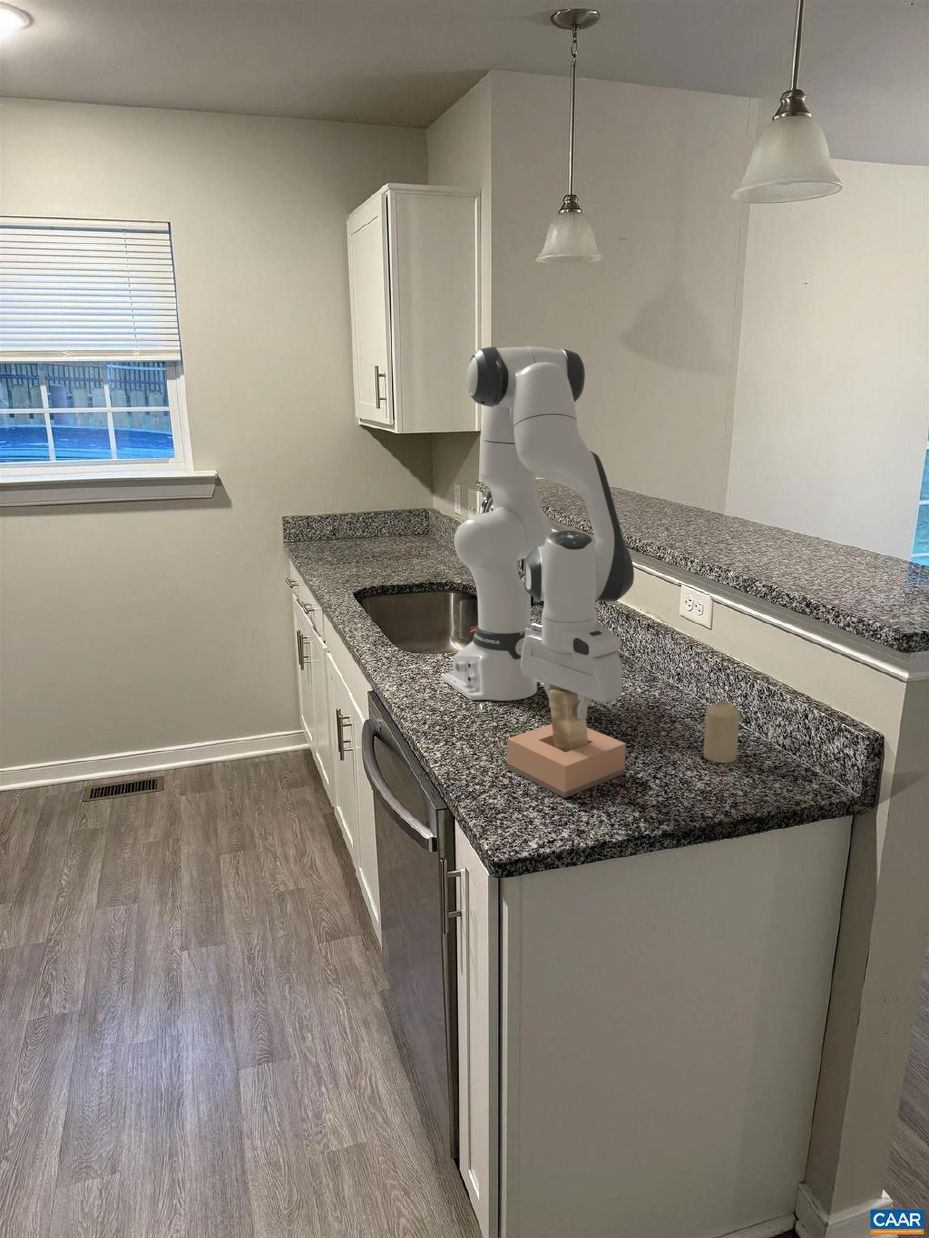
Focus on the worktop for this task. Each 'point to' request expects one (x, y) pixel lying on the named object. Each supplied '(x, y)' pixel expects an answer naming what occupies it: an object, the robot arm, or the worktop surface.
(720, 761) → the candle
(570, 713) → the peg
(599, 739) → the well block
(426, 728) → the worktop surface
